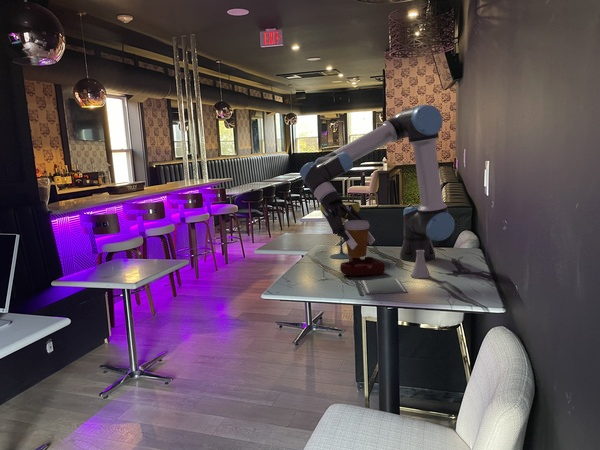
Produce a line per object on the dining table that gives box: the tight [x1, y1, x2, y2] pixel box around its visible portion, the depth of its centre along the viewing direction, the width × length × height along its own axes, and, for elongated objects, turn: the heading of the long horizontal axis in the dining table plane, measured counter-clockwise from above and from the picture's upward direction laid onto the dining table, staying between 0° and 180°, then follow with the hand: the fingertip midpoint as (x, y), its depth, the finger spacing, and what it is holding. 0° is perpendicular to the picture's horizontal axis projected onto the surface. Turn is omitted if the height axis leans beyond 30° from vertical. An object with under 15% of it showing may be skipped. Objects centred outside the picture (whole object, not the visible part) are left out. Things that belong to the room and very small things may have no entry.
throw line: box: [354, 279, 364, 297], centre depth 162 cm, size 1×19×1 cm, turn 179°
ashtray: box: [339, 256, 386, 278], centre depth 182 cm, size 18×16×5 cm
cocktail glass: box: [319, 200, 361, 260], centre depth 212 cm, size 18×18×25 cm
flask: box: [410, 250, 431, 279], centre depth 173 cm, size 7×7×10 cm
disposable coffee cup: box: [343, 219, 371, 258], centre depth 162 cm, size 10×10×12 cm
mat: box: [360, 278, 409, 295], centre depth 162 cm, size 14×16×1 cm
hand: (363, 244), depth 160 cm, fingers closed on disposable coffee cup, 9 cm apart
